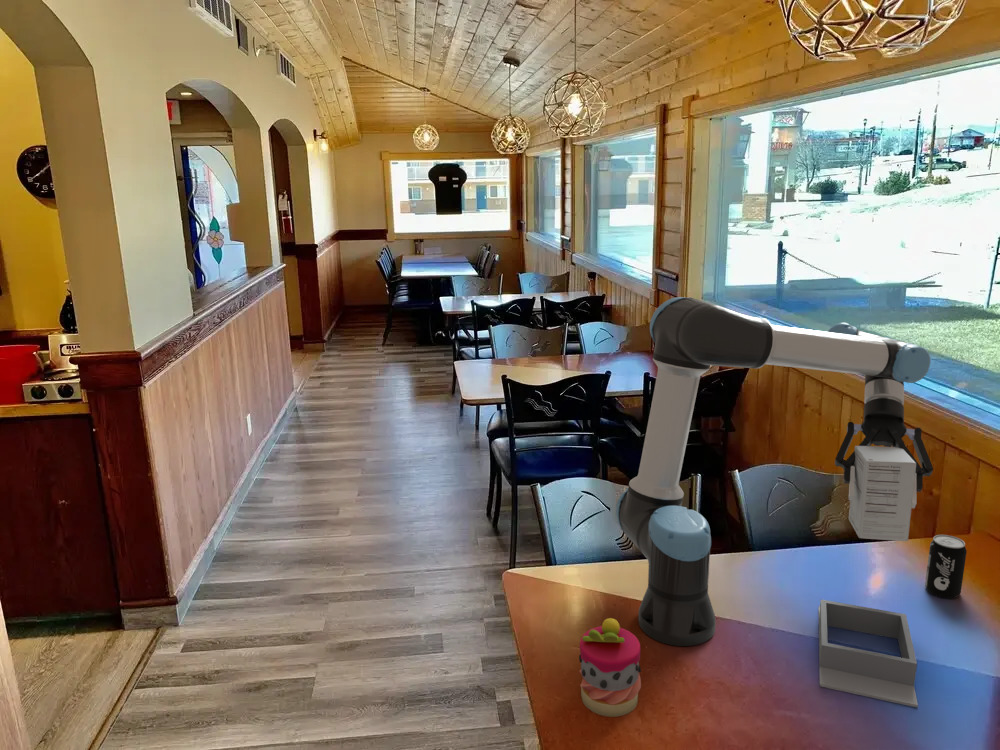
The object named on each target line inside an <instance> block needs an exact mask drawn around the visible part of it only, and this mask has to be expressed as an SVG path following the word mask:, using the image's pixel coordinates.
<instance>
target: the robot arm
mask: <svg viewBox="0 0 1000 750" xmlns="http://www.w3.org/2000/svg"><path fill="white" fill-rule="evenodd" d="M649 333H650V336H651V338H652V341H653V342H654V349H653V354H652V361H653V362H654V364H655V365H656V366H657V373H656V378H655V383H654V390H653V395H652V400H651V407H650V411H649V416H648V421H647V426H646V432H645V436H644V442H643V447H642V453H641V458H640V463H639V468H638V473H637V476H635V477H632V479H630V481H629V483H628V487H627V488H626V490H625V491H624V492H622V493H621V494H620V496H619V497H618V499H617V502H616V506H615V516H616V517H615V518H616V521H617V523H618V525H619V527H620V529H621V531H622V533H623V534H624V535H625V536H626V537H627V539H629V541H631V542H632V543H633V544H634V545H635V547H636V548H637V549H638V550H639V551H640V552H641V554H643V556H644V557H645V558H646V560H647V562H648V568H647V569H648V574H647V575H648V577H647V578H648V579H647V582H648V583H647V584H648V585H647V588H646V591H645V593H644V595H643V598H642V600H641V603H640V605H639V608H638V625H639V627H640V629H641V631H643V633H645V635H647V636H648V637H650V639H651V638H652V639H653V640H655V641H657V642H660V643H662V644H664V645H666V644H667V645H670V646H675V647H677V646H678V647H693V646H698V645H702V644H703V643H706V642H707V641H709V640H710V639H712V637H714V635H715V632H716V624H717V623H716V622H717V620H716V614H715V611H714V608H713V605H712V602H711V598H710V595H709V577H710V576H709V575H710V556H711V547H712V536H711V528H710V525H709V522H708V521H707V519H706V518H705V517H704V516H703V515H702V514H701V513H700V512H698V511H696V510H694V509H688V508H687V507H685V506H682V504H683V501H684V495H685V493H684V491H683V489H682V488H681V486H680V484H679V483H680V478H681V473H682V468H683V464H684V457H685V454H686V448H687V443H688V438H689V433H690V428H691V423H692V419H693V413H694V408H695V403H696V400H697V399H696V398H697V393H698V390H699V389H698V388H699V384H700V380H701V377H702V375H703V374H705V373H707V372H708V371H710V367H711V366H712V367H713V366H714V367H731V368H748V369H754V370H755V369H756V370H757V369H760V368H763V367H764V366H765V365H767V366H769V365H770V366H777V367H778V366H779V367H786V368H787V367H788V368H789V367H790V368H798V369H806V370H815V371H816V370H817V371H826V372H837V373H846V374H853V375H863V376H864V397H863V398H864V401H863V402H864V405H863V406H864V407H863V422H862V423H861V424H858V423H854V422H853V421H849V422H848V423H847V427H846V434H845V436H844V438H843V441H842V443H841V446H840V448H839V450H838V451H837V454H836V456H835V460H834V465H835V466H836V467H840V468H842V469H843V483H844V484H849V485H848V486H849V487H848V501H849V502H850V501H853V497H854V478H855V466H853V465H854V462H855V450H854V451H853V452H852V453H851V454H850V455H849V456H848V457H847V458H846V460H845V456H846V455H847V453H848V449H849V447H850V446H851V443H852V440H853V439H854V435H857V434H858V432H859V431H861V433H862V434H863V435H864V436H865V437H864V438H863V440H862V441H861V442H860V443H859V444H858V446H872V444H873V446H878V447H881V446H882V447H899V448H901V449H904V451H905V452H906V453H907V454H908V455H909V456H910V457H911V458H912V459H913V460H914V461H915V462H916V471H915V480H914V489H913V498H912V507H911V509H916V506H917V504H918V503H917V499H918V498H917V493H921V492H922V489H923V487H924V486H923V483H924V481H923V479H924V478H923V477H930V476H931V475H932V474H933V471H934V466H933V464H932V462H931V459H930V457H929V454H928V451H927V450H926V446H925V444H924V442H923V439H922V428H921V427H916V428H907V427H906V425H905V419H904V418H905V407H904V404H905V383H907V384H913V383H917V382H919V381H921V380H922V379H923V378H924V377H926V375H927V374H928V372H929V370H930V369H929V368H930V366H931V356H930V354H929V352H928V350H927V349H925V347H922V346H921V345H920V346H919V345H918V344H914V343H912V342H905V341H901V340H898V339H895V338H890V337H885V336H881V335H877V334H873V333H869V332H866V331H862V330H860V329H858V328H857V327H856V326H855V325H851V324H850V323H848V322H839V323H836V324H834V325H832V326H831V327H830V328H829V329H828V330H827V331H823V330H813V329H809V328H807V329H806V328H799V327H793V326H792V327H790V326H782V325H777V324H776V325H775V324H772V323H771V322H770V321H769V320H768V319H767V318H763V317H757V316H756V317H755V316H750V315H747V314H743V313H740V312H737V311H734V310H731V309H729V308H726V307H724V306H721V305H717V304H714V303H710V302H706V301H703V300H699V298H694V297H685V296H684V297H683V296H678V297H677V296H676V297H672V298H669V299H667V300H666V301H664V302H662V304H660V305H659V306H658V307H657V308H656V309H655V310H654V312H653V314H652V316H651V318H650V322H649ZM905 435H906V436H908V438H909V440H911V441H912V443H913V444H912V445H913V447H914V450H915V453H916V455H917V458H918V461H919V462H918V461H917V460H916V459H915V456H913V454H912V453H911V451H910V450H909V448H908V447H907V445H906V444H905V441H904V440H903V438H904V437H905ZM919 463H920V464H919Z"/></svg>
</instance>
